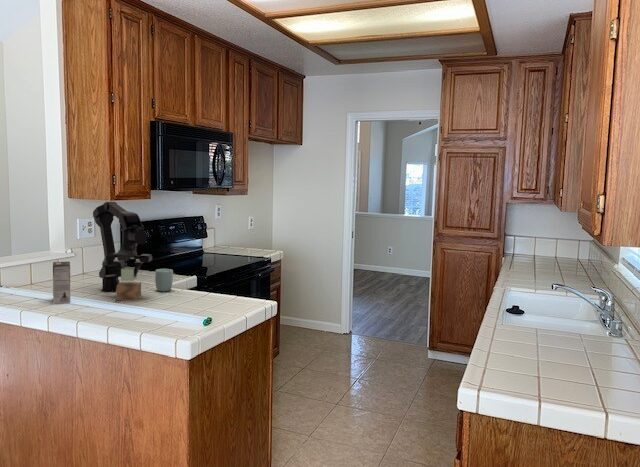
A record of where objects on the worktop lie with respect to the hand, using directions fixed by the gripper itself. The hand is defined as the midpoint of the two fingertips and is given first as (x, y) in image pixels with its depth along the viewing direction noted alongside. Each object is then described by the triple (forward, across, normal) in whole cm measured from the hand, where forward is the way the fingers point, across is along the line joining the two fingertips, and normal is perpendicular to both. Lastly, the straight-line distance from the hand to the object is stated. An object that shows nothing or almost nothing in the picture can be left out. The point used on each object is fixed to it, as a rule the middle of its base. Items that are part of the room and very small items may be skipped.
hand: (129, 276), depth 215 cm
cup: (+9, +11, +15) cm, 21 cm away
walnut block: (+9, 0, 0) cm, 9 cm away
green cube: (+1, 0, 0) cm, 1 cm away
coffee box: (+10, -24, -11) cm, 28 cm away
